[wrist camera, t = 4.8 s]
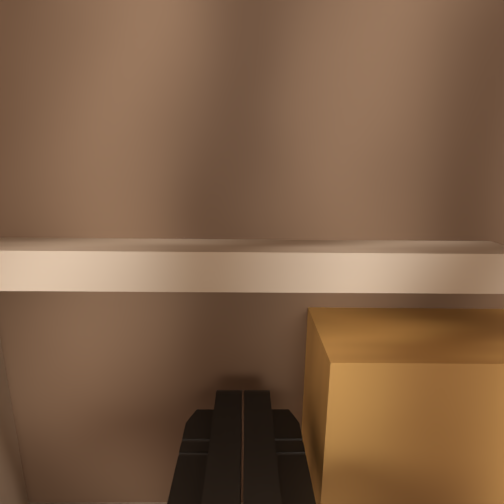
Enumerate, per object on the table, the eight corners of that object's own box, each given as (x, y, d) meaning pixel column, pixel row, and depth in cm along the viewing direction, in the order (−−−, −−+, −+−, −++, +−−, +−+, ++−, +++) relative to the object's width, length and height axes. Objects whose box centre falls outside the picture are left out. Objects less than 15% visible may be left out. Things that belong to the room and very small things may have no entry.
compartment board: (796, -10, 10) (1061, -93, 7) (640, 476, 14) (760, 573, 11) (-44, -21, 10) (-192, -113, 7) (36, 476, 14) (-31, 574, 11)
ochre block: (513, 308, 11) (613, 364, 8) (480, 478, 12) (554, 579, 9) (307, 307, 10) (330, 362, 8) (299, 477, 12) (315, 579, 9)
